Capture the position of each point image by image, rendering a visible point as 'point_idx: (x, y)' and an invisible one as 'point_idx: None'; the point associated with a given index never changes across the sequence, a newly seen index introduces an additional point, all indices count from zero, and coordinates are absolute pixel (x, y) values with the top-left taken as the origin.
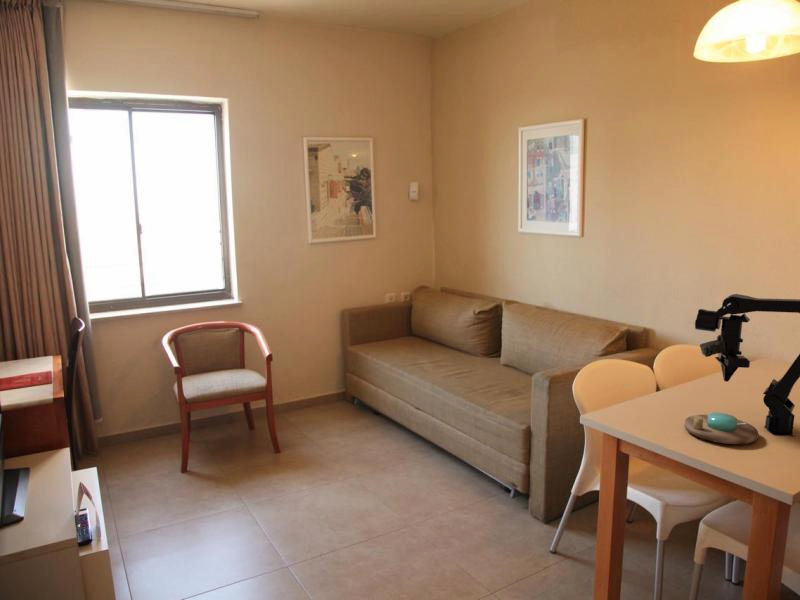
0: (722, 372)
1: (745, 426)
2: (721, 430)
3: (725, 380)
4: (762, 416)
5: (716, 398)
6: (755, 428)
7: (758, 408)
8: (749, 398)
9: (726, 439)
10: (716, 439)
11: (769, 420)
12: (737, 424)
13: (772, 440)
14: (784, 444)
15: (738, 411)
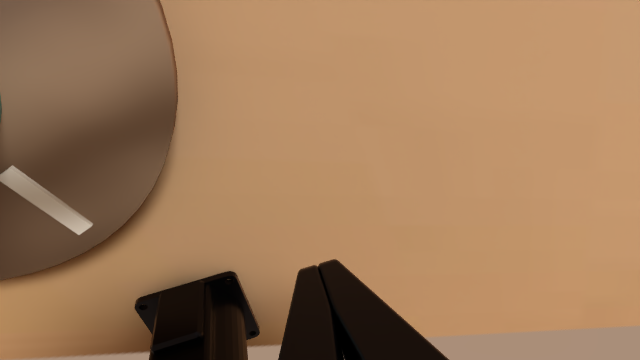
0: (405, 338)
1: (24, 227)
2: None
3: (299, 285)
4: (389, 260)
5: (621, 86)
6: (29, 271)
7: (488, 247)
8: (605, 219)
9: None
10: None
11: (154, 336)
12: (15, 188)
13: (55, 299)
14: (32, 335)
15: (436, 177)
